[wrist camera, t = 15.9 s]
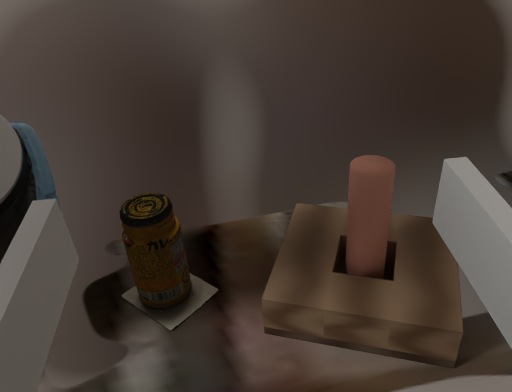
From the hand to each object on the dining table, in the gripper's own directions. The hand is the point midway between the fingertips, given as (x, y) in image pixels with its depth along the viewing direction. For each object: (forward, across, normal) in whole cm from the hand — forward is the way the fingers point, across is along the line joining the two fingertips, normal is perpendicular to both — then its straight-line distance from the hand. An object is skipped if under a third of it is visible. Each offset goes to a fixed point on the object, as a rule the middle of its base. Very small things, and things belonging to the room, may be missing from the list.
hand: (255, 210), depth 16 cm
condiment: (+25, -10, -30) cm, 40 cm away
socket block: (+22, +12, -29) cm, 39 cm away
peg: (+22, +12, -28) cm, 38 cm away
